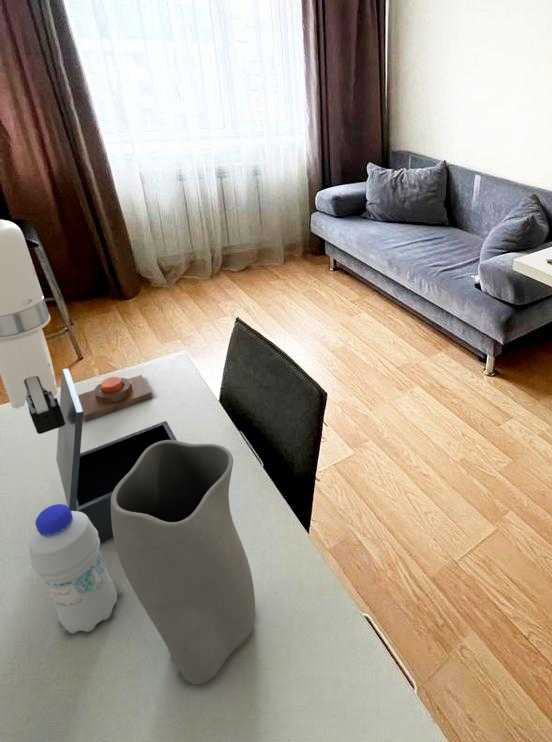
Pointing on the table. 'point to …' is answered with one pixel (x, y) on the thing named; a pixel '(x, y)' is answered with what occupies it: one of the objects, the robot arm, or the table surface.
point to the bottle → (72, 567)
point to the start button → (112, 384)
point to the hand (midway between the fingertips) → (51, 426)
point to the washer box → (111, 473)
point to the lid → (69, 438)
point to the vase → (185, 553)
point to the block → (114, 398)
